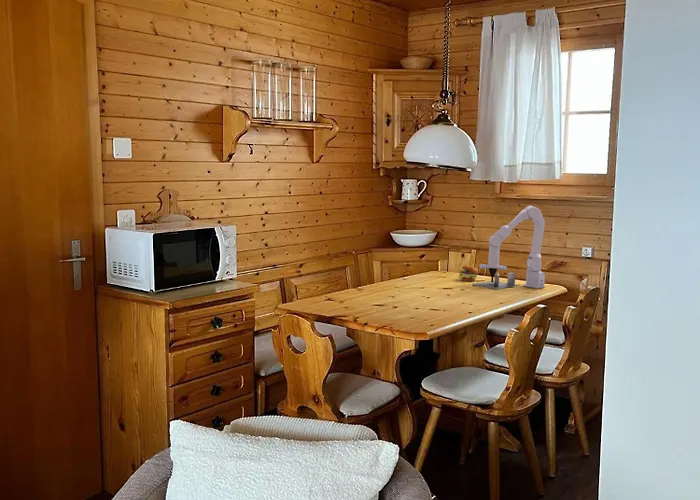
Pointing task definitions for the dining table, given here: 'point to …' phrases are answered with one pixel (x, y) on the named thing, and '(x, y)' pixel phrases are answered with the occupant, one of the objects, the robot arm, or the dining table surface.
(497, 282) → the hinge post
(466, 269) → the cheeseburger
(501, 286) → the mat
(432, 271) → the dining table surface
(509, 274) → the stile
